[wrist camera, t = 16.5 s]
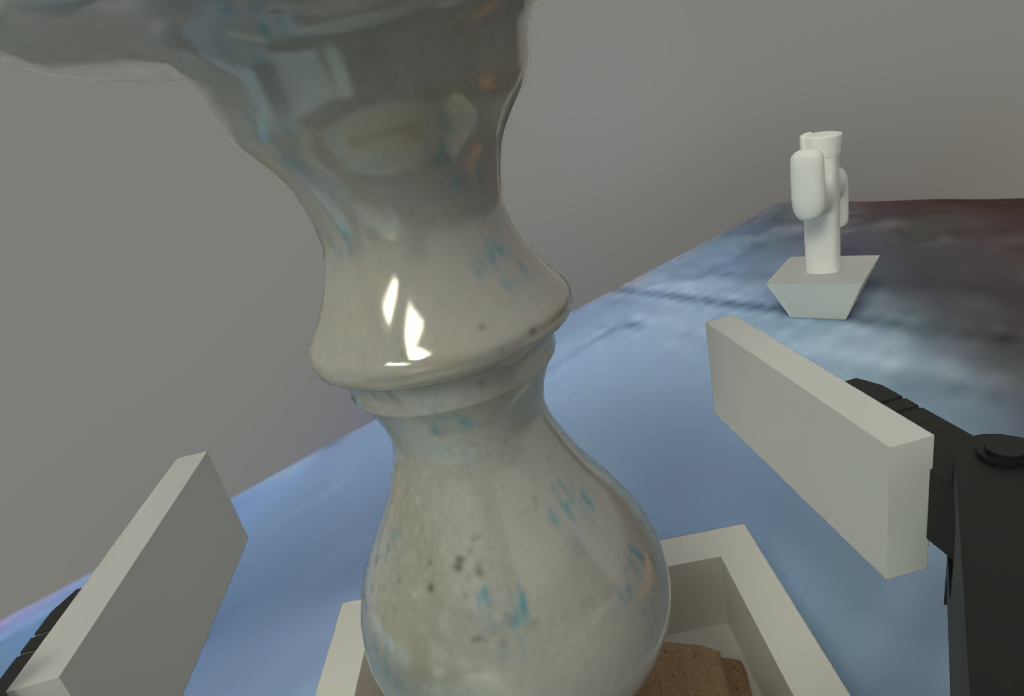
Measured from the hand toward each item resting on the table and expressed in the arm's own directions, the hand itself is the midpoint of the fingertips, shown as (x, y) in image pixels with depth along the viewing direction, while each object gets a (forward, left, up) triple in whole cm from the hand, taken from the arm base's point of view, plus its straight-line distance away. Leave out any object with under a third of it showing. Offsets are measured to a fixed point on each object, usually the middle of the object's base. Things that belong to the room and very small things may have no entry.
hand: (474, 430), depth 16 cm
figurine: (+27, +36, -15) cm, 47 cm away
